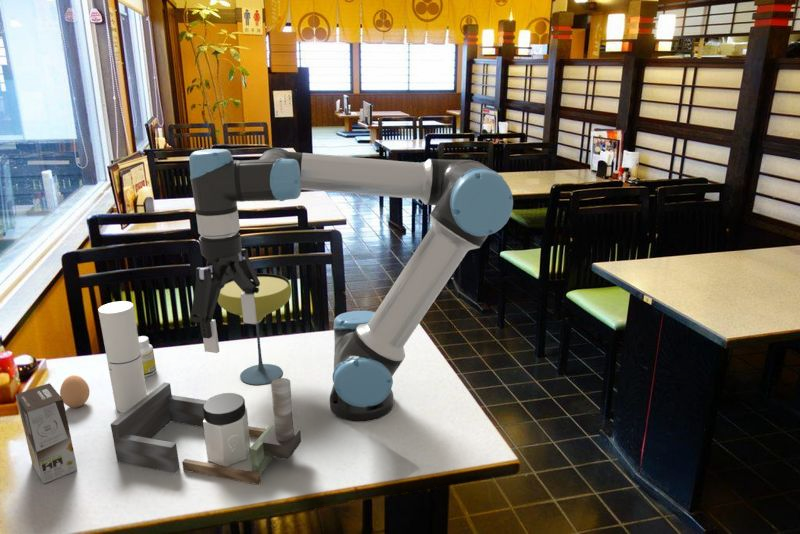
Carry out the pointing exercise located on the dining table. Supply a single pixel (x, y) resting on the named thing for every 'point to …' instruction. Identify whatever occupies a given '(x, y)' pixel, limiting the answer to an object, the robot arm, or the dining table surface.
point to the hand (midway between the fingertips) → (232, 336)
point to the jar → (226, 429)
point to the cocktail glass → (258, 317)
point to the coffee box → (47, 432)
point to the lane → (144, 451)
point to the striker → (277, 430)
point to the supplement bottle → (147, 356)
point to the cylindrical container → (123, 354)
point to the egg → (74, 391)
